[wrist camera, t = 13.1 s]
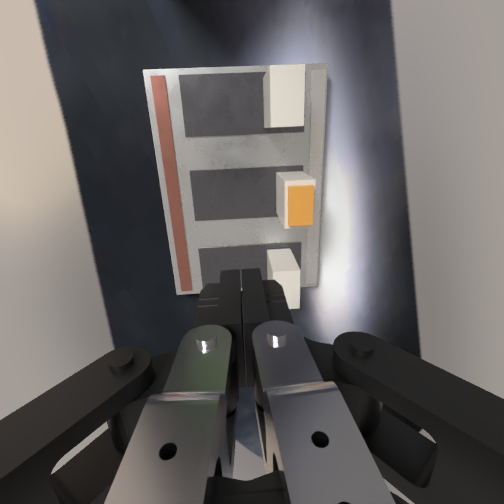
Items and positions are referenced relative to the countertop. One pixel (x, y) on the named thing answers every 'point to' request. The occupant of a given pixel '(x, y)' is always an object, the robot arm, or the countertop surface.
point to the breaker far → (285, 274)
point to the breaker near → (284, 96)
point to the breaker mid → (295, 199)
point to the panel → (231, 170)
